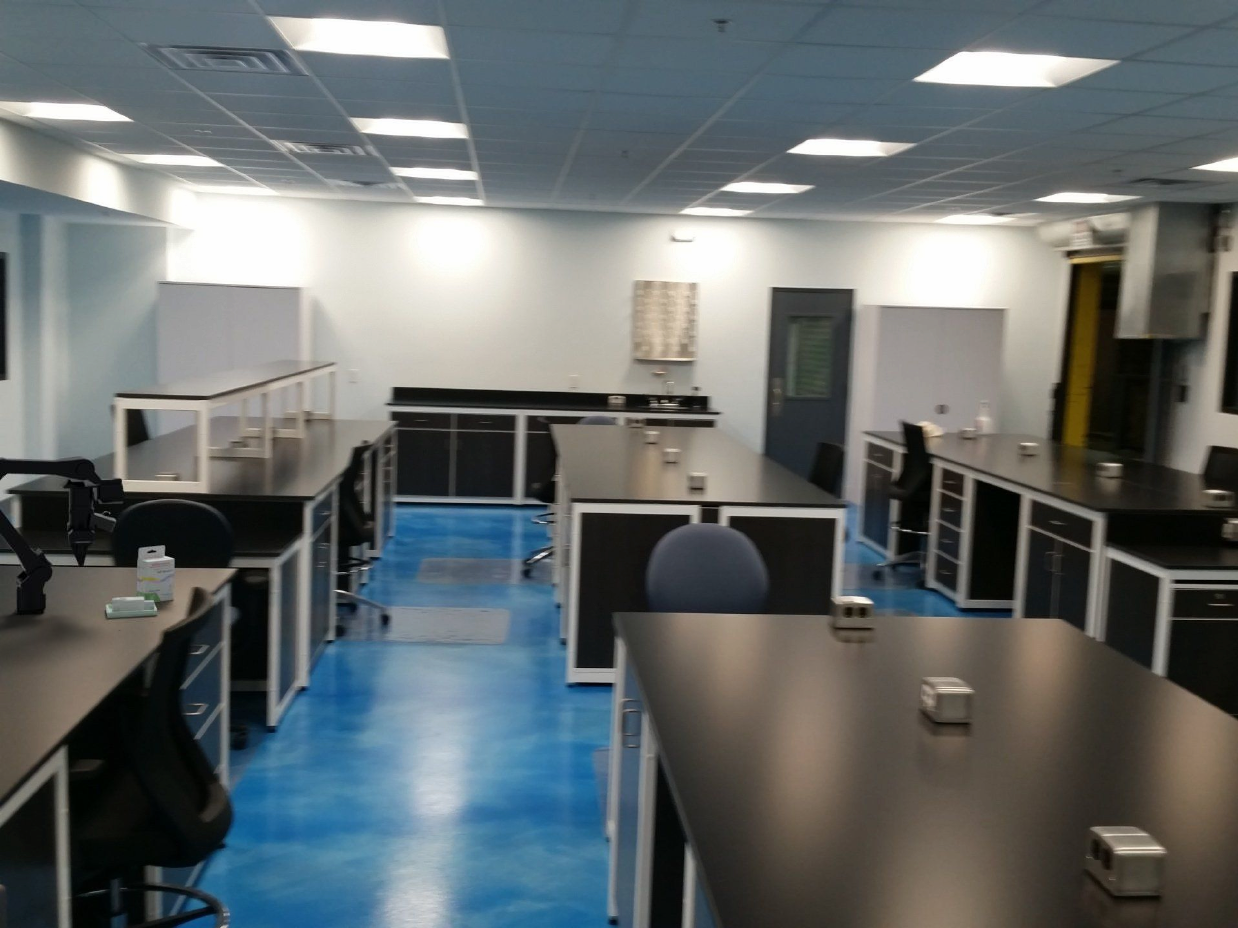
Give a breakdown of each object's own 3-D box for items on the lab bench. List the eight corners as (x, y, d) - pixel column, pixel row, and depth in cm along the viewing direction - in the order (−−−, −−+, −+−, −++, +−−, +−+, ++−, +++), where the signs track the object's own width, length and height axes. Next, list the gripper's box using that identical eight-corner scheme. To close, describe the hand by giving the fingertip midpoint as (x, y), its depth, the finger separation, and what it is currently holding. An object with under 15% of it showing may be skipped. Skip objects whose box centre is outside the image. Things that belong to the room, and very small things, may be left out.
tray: (107, 617, 305) (107, 612, 305) (105, 609, 313) (105, 604, 313) (157, 615, 310) (157, 610, 310) (154, 607, 318) (154, 602, 318)
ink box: (146, 604, 321) (146, 550, 320) (136, 600, 324) (136, 548, 323) (174, 599, 328) (175, 547, 327) (164, 596, 331) (165, 544, 330)
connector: (112, 612, 308) (112, 600, 307) (111, 609, 311) (111, 597, 311) (154, 610, 312) (154, 599, 312) (152, 607, 316) (153, 595, 315)
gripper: (116, 509, 307) (115, 568, 308) (112, 498, 323) (111, 554, 325) (68, 510, 302) (68, 570, 303) (67, 499, 318) (67, 556, 320)
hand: (80, 562), depth 313 cm, fingers open, 9 cm apart
